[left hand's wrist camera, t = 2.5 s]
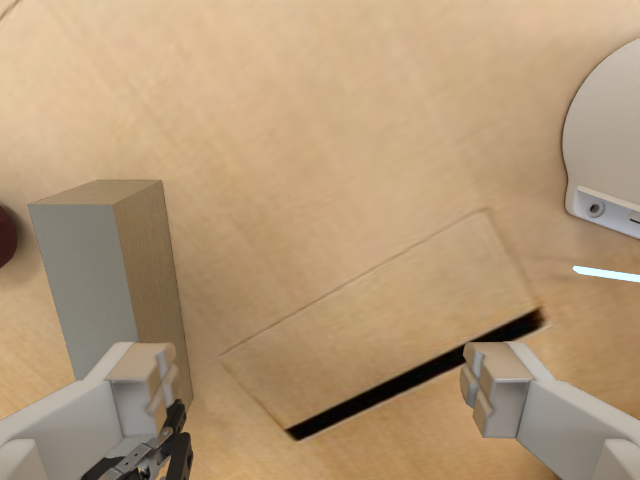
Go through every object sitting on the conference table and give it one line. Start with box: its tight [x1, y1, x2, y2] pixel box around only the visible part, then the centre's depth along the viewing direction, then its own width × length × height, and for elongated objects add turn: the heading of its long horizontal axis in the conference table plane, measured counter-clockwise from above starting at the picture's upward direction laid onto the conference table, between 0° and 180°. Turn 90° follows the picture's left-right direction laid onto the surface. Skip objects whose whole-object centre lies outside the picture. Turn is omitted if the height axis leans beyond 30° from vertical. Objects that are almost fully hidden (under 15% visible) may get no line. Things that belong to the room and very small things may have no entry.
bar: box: [28, 180, 193, 468], centre depth 35 cm, size 26×6×9 cm, turn 0°
